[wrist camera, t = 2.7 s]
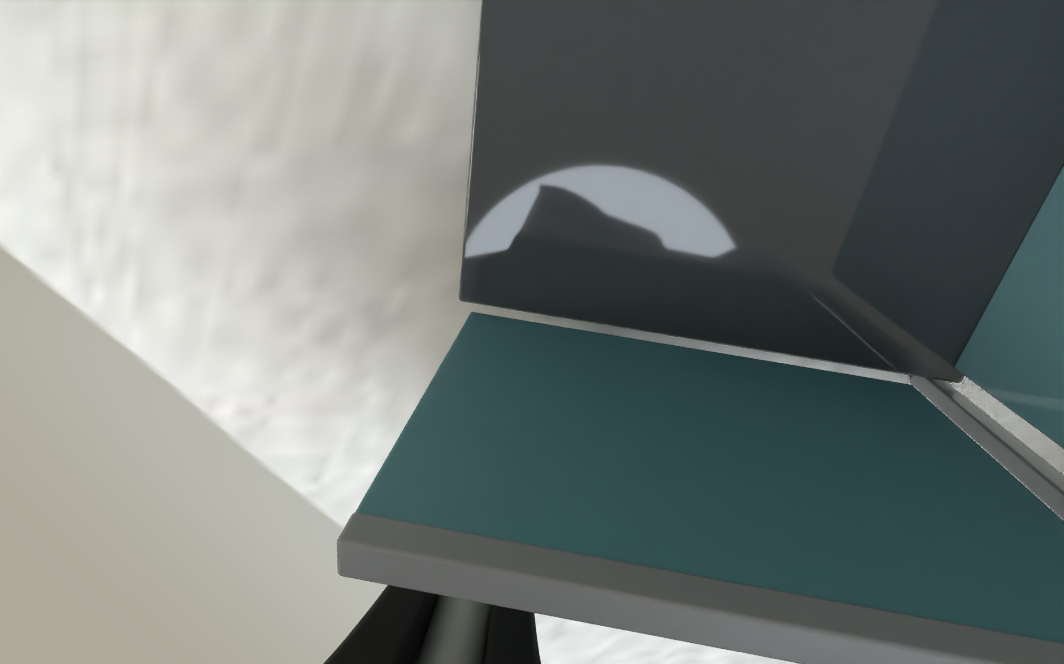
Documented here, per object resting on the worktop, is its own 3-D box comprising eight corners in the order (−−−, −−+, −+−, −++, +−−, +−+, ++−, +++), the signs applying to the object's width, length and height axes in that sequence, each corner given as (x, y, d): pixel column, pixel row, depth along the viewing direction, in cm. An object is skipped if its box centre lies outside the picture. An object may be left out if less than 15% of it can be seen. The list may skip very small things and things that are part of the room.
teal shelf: (827, 549, 14) (1026, 933, 8) (455, 482, 15) (344, 790, 8) (913, 382, 12) (1298, 722, 5) (471, 309, 12) (334, 540, 6)
